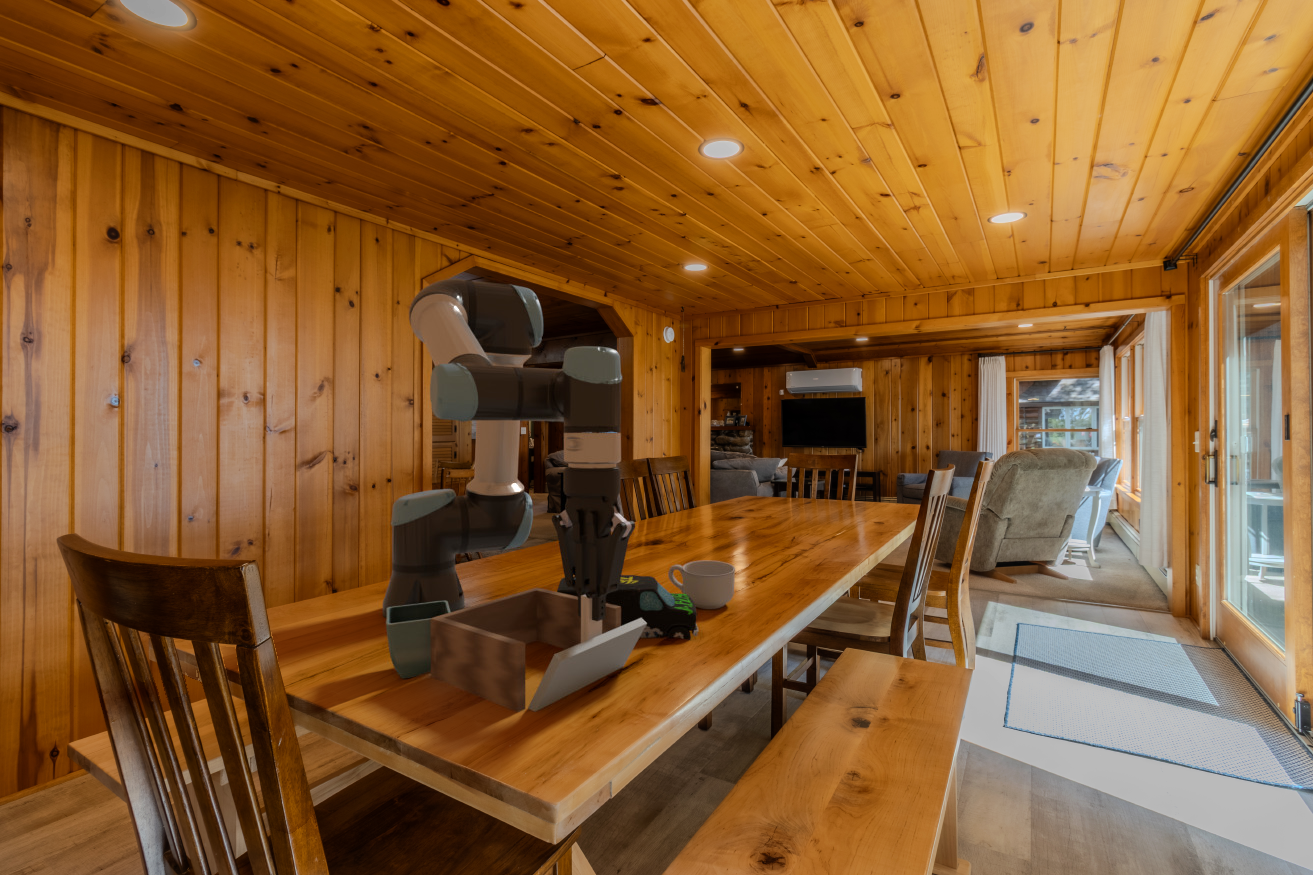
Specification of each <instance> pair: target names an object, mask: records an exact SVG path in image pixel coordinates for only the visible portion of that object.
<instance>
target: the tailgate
mask: <svg viewBox="0 0 1313 875" xmlns="http://www.w3.org/2000/svg"><path fill="white" fill-rule="evenodd" d="M646 624H647V623H646V622H645V621H644V620H643V619H642V618H639V619H637V620H635V621H632V622H630V623H627V624H625V625H623V626H620V627H618V628H616V629H613V630H611V631H608V632H606V633H604V634H601V635H599V636H597V637H594V638H592V639H590V640H587V641H585V642H582V643H580V644H578V645H575V646H573V647H571V648H568V649H562V651H558V652H557V653H554V655H553V656H552V659H551V660H550V662H549V664H548V667H547V668H546V670H545V673H544V675H543V676H542V677H541V678H542V679H541V681H540V683H539V685H538V687H537V689H536V691H535V692H534V695H533V696H532V699H531V700H530V703H529V705H528V706H527V707H528V710H530V711H533V712H538V711H540V710H541V709H544V708H546V707H547V706H549V705H551V704H554V703H556V702H557V701H559V700H561V699H564V698H565V697H566V696H568V695H569V696H570V695H572V693H575V692H578V691H579V690H581V689H582V688H585V687H587V686H589V685H590V684H592V683H594V682H595V683H596V682H597V681H598V680H601V679H602V678H605V677H606V676H608V675H610V674H613V673H614V672H616V671H618V670H620V669H622V668H624V666H625V665H626V663H627V661H628V659H629V657H630V656H631V654H632V652H633V650H634V648H635V646H636V644H637V642H638V641H639V639H640V638H639V637H640V635H641V634H642V632H643V630H644V628H645V626H646Z"/></svg>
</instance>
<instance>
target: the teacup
mask: <svg viewBox="0 0 1313 875" xmlns="http://www.w3.org/2000/svg"><path fill="white" fill-rule="evenodd" d="M676 570H677V571H679V572H680V574H681V577H682V583H681V582H679V580H677V578H676V577H675V575H674V571H676ZM735 571H736V567H735V566H734V565H733V564H731V563H728V562H724V561H720V560H711V559H710V560H707V559H706V560H704V559H703V560H694V561H689V562H687V563H685V564H683V565H681V564H673V565H671V567H669V569H668V573H667V574H668V579H669V581H670V582H671V584H673V585H674V586H675V587H676V588H678V589H679V590H680V591H681V594H687V595H688V596H689V597H691V599H692V600H693V602H694V604H695V607H696V608H698V609H701V610H717V609H720V608H723V607H725V605H726V604H727V603H729V602H730V601H731V600H732V599H733V597H734V594H735Z"/></svg>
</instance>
